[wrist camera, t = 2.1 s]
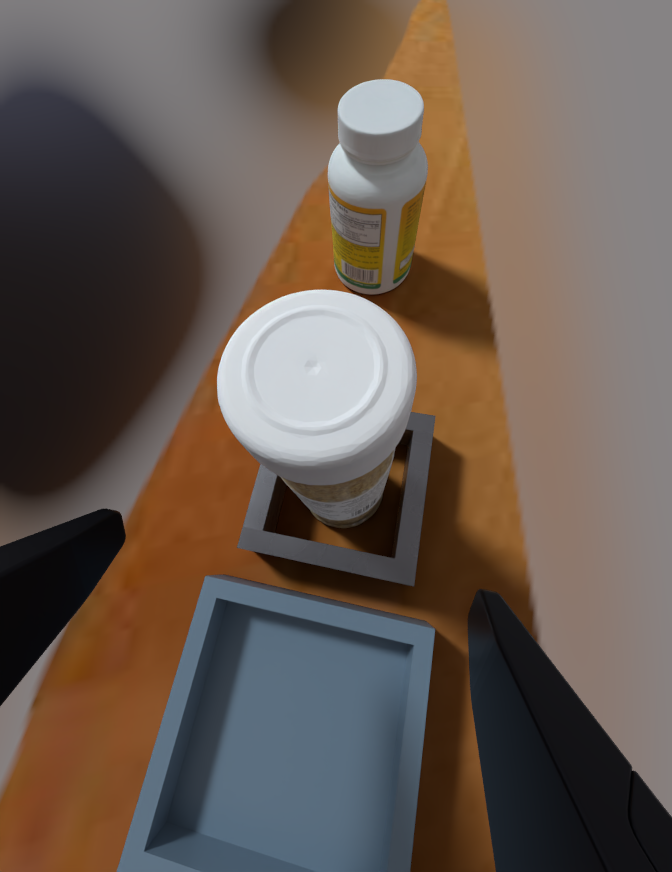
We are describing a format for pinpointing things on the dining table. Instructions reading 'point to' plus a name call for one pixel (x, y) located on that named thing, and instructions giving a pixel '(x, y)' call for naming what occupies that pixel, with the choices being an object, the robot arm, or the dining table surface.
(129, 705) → the dining table surface
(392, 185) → the supplement bottle
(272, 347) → the sprinkles bottle
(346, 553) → the bottle holder
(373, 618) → the tray
